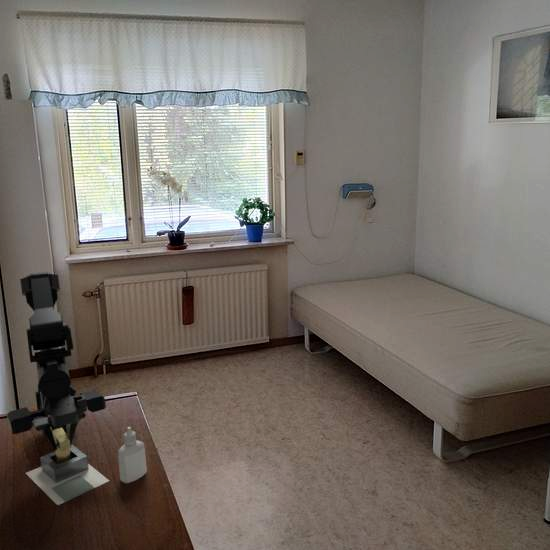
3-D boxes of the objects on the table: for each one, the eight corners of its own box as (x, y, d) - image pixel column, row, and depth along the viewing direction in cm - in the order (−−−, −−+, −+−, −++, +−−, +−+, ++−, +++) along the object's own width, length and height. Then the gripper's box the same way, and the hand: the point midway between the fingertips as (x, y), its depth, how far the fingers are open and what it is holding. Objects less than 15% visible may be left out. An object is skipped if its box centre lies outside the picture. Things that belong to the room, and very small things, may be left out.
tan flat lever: (54, 463, 122) (50, 430, 120) (67, 459, 123) (63, 426, 122) (62, 476, 117) (57, 443, 115) (75, 472, 118) (71, 439, 116)
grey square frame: (41, 469, 120) (39, 457, 120) (73, 456, 125) (72, 444, 124) (55, 483, 115) (54, 470, 115) (88, 468, 120) (87, 456, 119)
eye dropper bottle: (149, 481, 116) (144, 429, 114) (121, 488, 114) (116, 435, 112) (145, 471, 120) (141, 420, 118) (119, 477, 118) (113, 425, 116)
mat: (52, 489, 113) (51, 487, 113) (80, 476, 117) (80, 475, 117) (65, 501, 109) (64, 500, 109) (93, 488, 113) (93, 486, 113)
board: (26, 477, 120) (25, 473, 119) (75, 456, 127) (74, 452, 127) (58, 509, 108) (57, 505, 108) (110, 485, 116) (109, 480, 116)
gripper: (11, 405, 104) (22, 480, 107) (110, 380, 114) (117, 449, 117) (1, 385, 113) (12, 455, 116) (94, 363, 123) (101, 428, 127)
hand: (62, 447), depth 119 cm, fingers closed on tan flat lever, 3 cm apart
